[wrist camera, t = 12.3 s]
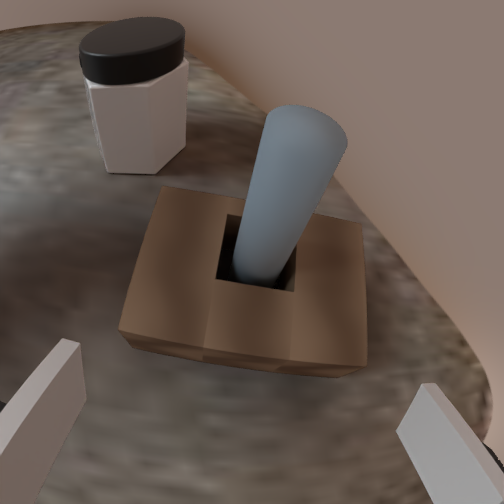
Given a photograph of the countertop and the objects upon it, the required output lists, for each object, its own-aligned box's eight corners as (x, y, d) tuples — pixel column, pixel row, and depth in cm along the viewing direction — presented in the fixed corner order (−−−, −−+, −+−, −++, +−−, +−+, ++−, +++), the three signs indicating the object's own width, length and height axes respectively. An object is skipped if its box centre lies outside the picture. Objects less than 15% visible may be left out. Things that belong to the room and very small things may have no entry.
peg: (224, 299, 22) (261, 147, 10) (230, 259, 24) (269, 97, 12) (269, 306, 23) (351, 168, 11) (273, 267, 24) (343, 116, 12)
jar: (140, 109, 31) (136, 10, 21) (200, 135, 30) (210, 25, 20) (80, 157, 27) (53, 49, 17) (140, 192, 26) (124, 66, 16)
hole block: (133, 347, 20) (117, 329, 16) (165, 223, 25) (162, 185, 21) (336, 377, 21) (367, 366, 17) (338, 254, 26) (361, 223, 22)
